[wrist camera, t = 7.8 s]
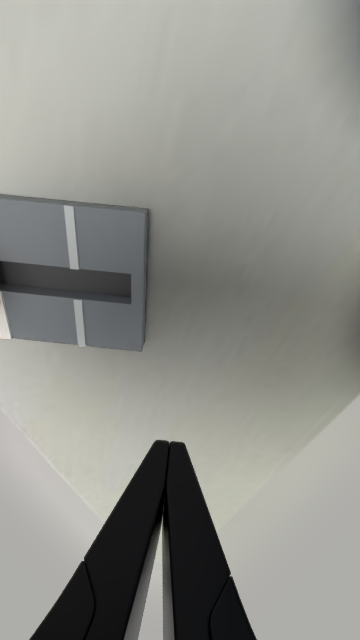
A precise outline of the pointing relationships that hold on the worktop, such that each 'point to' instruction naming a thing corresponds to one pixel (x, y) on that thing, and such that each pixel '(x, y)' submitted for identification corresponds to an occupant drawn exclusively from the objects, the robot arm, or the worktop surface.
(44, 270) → the fader console
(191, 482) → the robot arm
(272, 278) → the worktop surface
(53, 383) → the worktop surface
